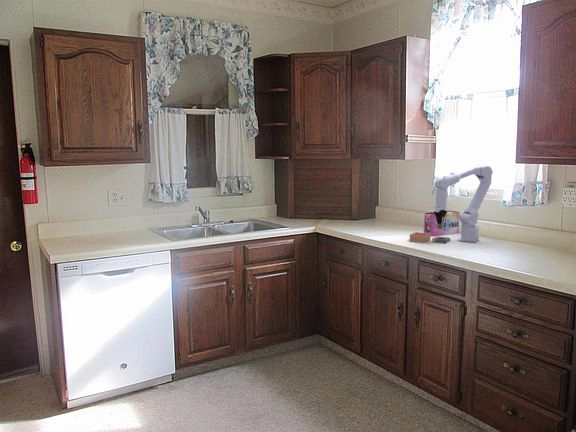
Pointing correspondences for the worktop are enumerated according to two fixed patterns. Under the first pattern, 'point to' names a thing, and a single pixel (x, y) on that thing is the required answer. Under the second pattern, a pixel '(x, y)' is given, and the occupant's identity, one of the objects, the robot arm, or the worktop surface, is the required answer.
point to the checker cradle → (441, 239)
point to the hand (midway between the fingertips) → (440, 223)
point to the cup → (420, 237)
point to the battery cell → (440, 225)
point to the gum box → (448, 225)
